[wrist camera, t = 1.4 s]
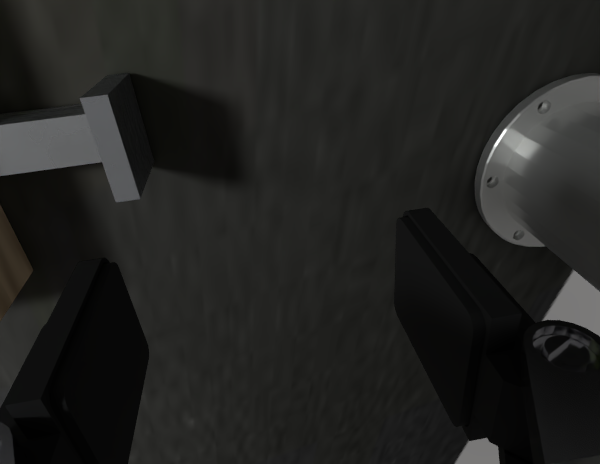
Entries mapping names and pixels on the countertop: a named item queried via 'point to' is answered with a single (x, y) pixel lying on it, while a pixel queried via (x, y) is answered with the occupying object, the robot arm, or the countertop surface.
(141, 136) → the lynch pin
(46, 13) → the countertop surface
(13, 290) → the block
